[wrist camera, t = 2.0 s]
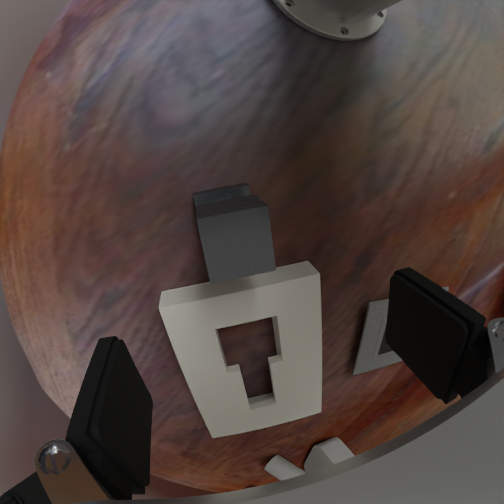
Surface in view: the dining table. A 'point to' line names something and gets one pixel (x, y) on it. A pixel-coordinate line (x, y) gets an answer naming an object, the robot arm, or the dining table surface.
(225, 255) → the keyhole peg
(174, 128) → the dining table surface
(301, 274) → the keyhole plate
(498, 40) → the dining table surface
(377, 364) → the electrical outlet
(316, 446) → the wall hook
